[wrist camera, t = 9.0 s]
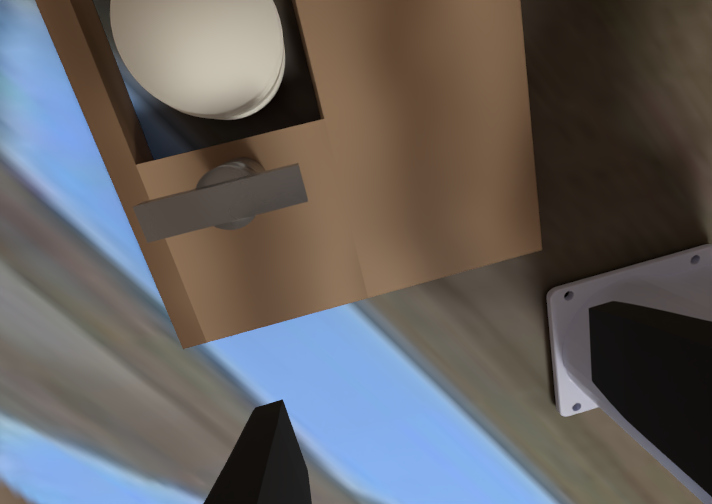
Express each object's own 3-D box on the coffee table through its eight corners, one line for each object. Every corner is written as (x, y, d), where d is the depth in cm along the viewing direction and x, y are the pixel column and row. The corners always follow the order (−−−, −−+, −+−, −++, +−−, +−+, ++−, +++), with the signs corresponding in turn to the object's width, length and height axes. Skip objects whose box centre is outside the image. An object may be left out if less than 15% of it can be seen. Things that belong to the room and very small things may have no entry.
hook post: (294, 143, 15) (294, 150, 11) (307, 190, 16) (312, 215, 11) (177, 172, 15) (126, 191, 10) (195, 218, 15) (153, 256, 11)
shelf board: (482, -106, 15) (508, -138, 14) (518, 238, 20) (542, 249, 18) (56, -15, 14) (19, -37, 13) (194, 326, 19) (183, 349, 17)
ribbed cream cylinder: (265, -22, 15) (251, -89, 11) (300, 104, 17) (301, 95, 12) (143, 7, 15) (74, -48, 10) (190, 133, 16) (147, 135, 12)
